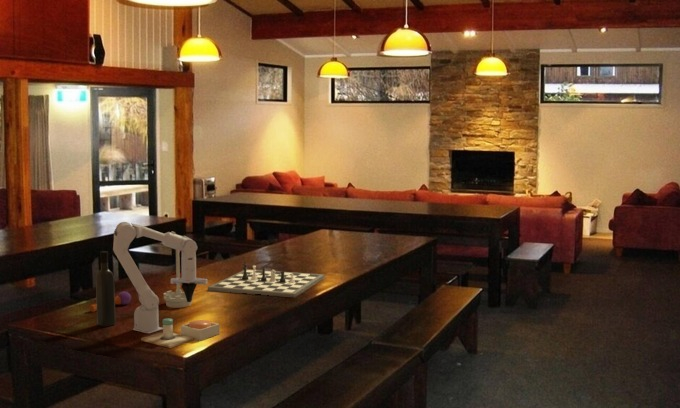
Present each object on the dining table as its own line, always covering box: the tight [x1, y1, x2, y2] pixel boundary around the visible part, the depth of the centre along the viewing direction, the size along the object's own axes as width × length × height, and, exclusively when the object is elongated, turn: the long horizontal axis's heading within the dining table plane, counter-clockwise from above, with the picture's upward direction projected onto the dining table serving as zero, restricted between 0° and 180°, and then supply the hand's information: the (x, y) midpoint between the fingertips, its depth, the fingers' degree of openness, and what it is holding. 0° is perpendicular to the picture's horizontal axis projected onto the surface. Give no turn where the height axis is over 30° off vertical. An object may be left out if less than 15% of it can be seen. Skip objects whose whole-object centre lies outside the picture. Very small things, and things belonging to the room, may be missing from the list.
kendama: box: [89, 291, 132, 313], centre depth 326 cm, size 6×6×20 cm
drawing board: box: [140, 331, 195, 349], centre depth 278 cm, size 16×12×1 cm
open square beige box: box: [180, 322, 221, 341], centre depth 285 cm, size 10×10×4 cm
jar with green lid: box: [162, 317, 174, 339], centre depth 278 cm, size 4×4×7 cm
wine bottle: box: [95, 250, 116, 328], centre depth 297 cm, size 6×6×30 cm
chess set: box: [207, 261, 325, 298], centre depth 373 cm, size 45×45×11 cm
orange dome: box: [188, 319, 211, 329], centre depth 285 cm, size 8×8×4 cm
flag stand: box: [163, 249, 194, 309], centre depth 330 cm, size 13×13×30 cm
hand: (189, 301), depth 297 cm, fingers closed
